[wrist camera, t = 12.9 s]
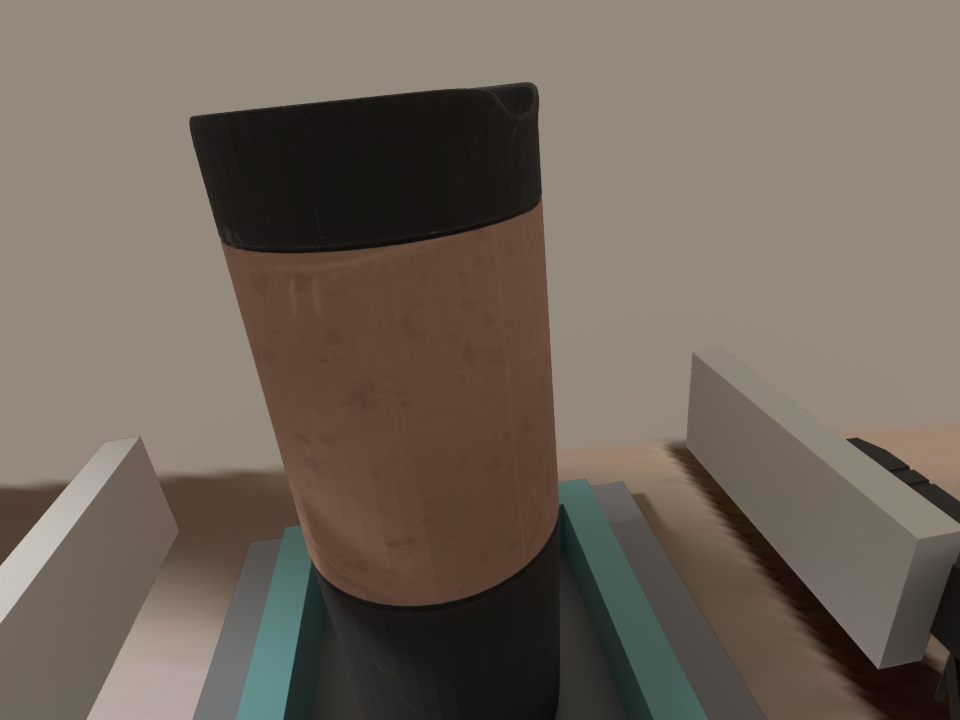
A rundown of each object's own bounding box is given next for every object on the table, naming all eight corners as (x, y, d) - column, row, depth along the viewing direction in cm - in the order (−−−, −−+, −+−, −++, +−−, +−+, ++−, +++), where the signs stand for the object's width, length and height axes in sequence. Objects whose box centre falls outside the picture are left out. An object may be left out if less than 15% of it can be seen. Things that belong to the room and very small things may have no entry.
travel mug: (344, 645, 23) (193, 117, 15) (514, 580, 25) (468, 89, 17) (385, 853, 17) (156, 118, 8) (609, 740, 19) (613, 72, 10)
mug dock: (42, 1256, 12) (-53, 1205, 10) (255, 557, 30) (234, 496, 28) (928, 1025, 13) (975, 948, 12) (622, 495, 31) (623, 434, 30)
